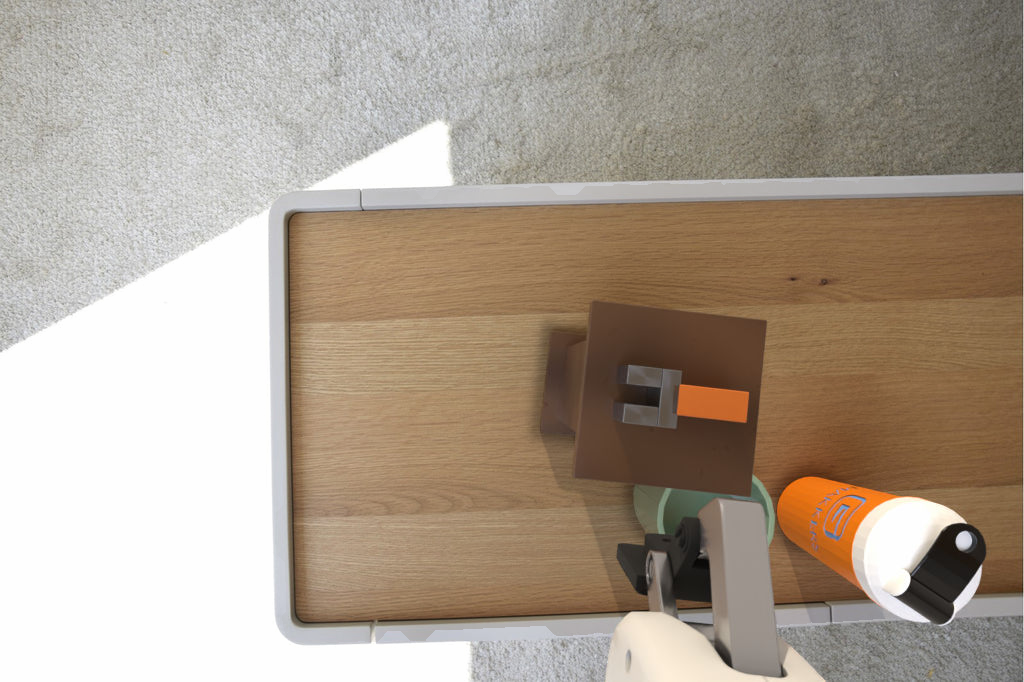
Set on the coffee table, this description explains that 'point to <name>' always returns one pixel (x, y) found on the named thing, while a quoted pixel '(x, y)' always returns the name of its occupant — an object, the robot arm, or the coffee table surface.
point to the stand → (640, 448)
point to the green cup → (688, 506)
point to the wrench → (675, 399)
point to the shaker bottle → (887, 545)
